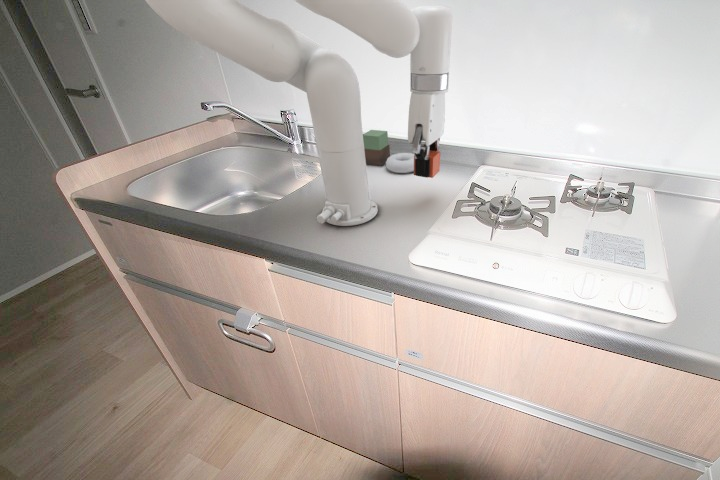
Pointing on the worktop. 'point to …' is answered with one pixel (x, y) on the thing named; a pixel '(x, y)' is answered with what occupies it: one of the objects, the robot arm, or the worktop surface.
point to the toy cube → (432, 162)
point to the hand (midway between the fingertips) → (426, 171)
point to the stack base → (377, 156)
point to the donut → (401, 163)
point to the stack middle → (375, 139)
